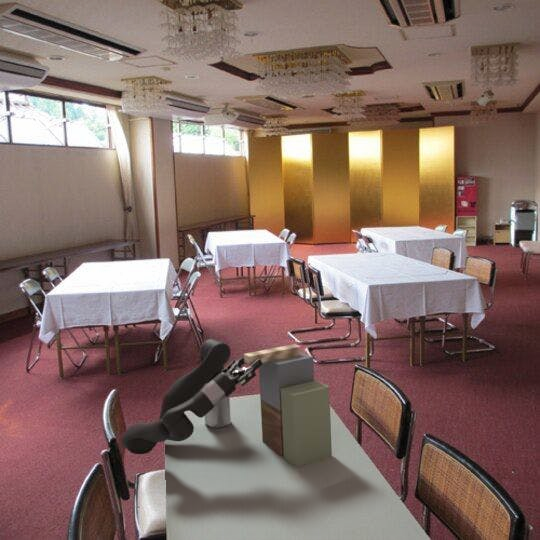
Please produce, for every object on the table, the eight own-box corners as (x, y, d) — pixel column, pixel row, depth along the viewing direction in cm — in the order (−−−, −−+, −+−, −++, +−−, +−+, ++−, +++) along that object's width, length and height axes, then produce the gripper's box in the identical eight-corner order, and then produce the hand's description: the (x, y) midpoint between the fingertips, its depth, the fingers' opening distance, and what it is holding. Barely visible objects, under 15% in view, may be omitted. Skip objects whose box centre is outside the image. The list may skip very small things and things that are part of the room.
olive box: (296, 466, 184) (293, 395, 181) (283, 457, 191) (280, 388, 188) (331, 455, 191) (329, 386, 188) (318, 446, 198) (315, 380, 195)
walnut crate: (282, 456, 192) (280, 410, 190) (262, 441, 204) (260, 398, 202) (316, 445, 199) (315, 401, 197) (295, 432, 211) (294, 390, 209)
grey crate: (280, 410, 190) (278, 364, 188) (260, 398, 202) (258, 355, 200) (315, 401, 197) (313, 357, 195) (294, 390, 209) (292, 348, 207)
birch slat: (249, 365, 189) (249, 356, 188) (244, 362, 192) (243, 354, 192) (300, 354, 198) (300, 346, 198) (294, 352, 202) (294, 344, 201)
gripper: (215, 392, 193) (250, 361, 199) (233, 404, 181) (270, 371, 187) (203, 375, 191) (240, 345, 196) (221, 387, 178) (259, 354, 184)
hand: (255, 358), depth 191 cm, fingers open, 8 cm apart
